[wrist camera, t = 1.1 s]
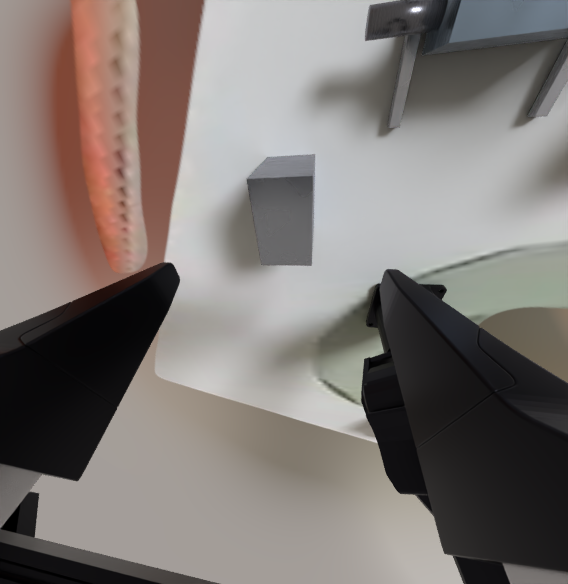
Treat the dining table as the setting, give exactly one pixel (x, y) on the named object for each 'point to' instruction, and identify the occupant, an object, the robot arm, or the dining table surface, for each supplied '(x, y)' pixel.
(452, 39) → the block
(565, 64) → the vise bed
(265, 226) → the steel block
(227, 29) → the dining table surface
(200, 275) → the dining table surface
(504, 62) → the dining table surface
